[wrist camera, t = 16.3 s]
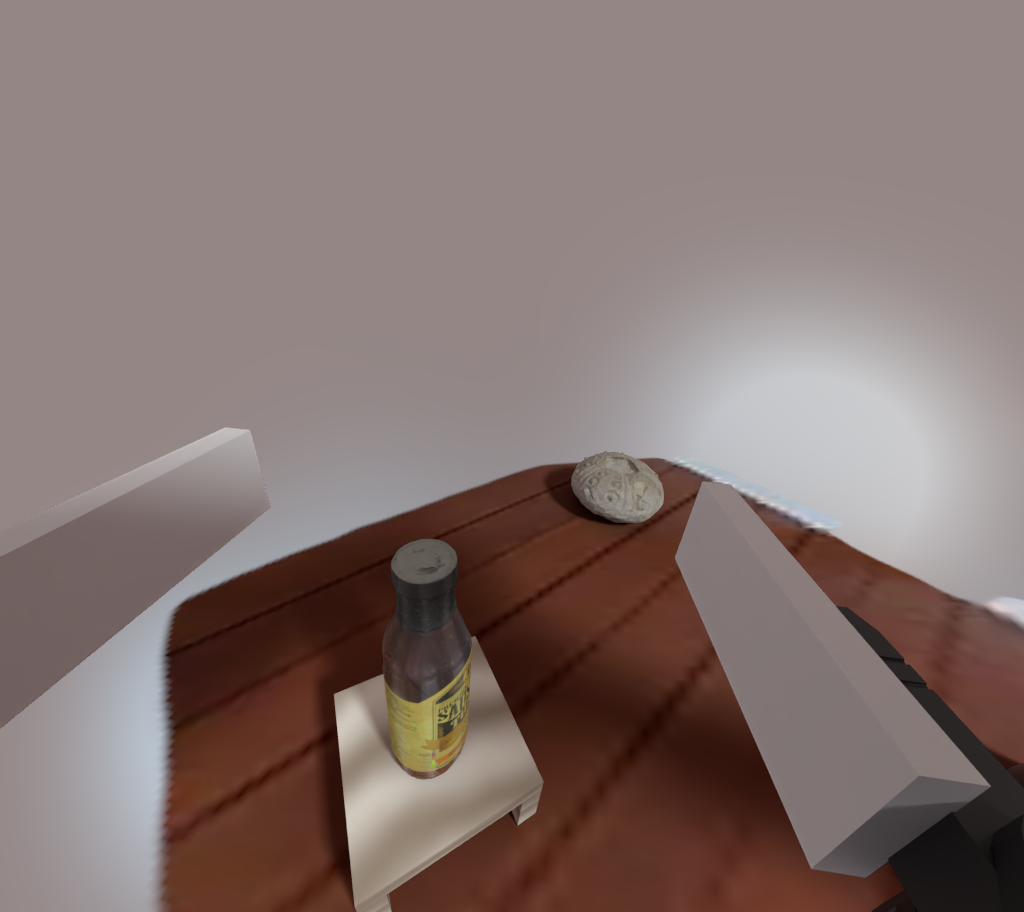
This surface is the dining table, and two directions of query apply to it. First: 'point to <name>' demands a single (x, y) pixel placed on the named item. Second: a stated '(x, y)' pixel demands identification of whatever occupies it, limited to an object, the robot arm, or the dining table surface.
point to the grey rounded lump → (617, 487)
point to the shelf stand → (426, 786)
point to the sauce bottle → (426, 661)
